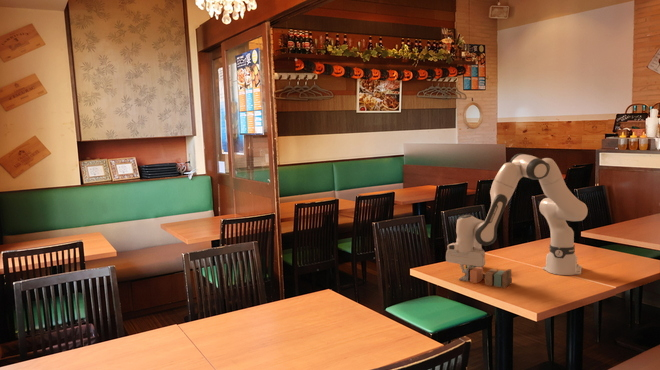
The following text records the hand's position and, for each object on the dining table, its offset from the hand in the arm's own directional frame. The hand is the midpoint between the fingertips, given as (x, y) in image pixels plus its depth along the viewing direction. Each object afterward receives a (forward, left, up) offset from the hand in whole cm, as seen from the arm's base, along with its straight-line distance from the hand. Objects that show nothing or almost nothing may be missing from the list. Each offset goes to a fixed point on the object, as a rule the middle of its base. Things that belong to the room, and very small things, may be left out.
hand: (465, 272), depth 261 cm
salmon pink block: (0, +6, -3) cm, 7 cm away
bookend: (+1, +1, -3) cm, 3 cm away
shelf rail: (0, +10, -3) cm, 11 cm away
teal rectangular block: (0, +18, -3) cm, 19 cm away
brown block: (0, +14, -3) cm, 14 cm away
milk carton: (-22, -5, -3) cm, 22 cm away
